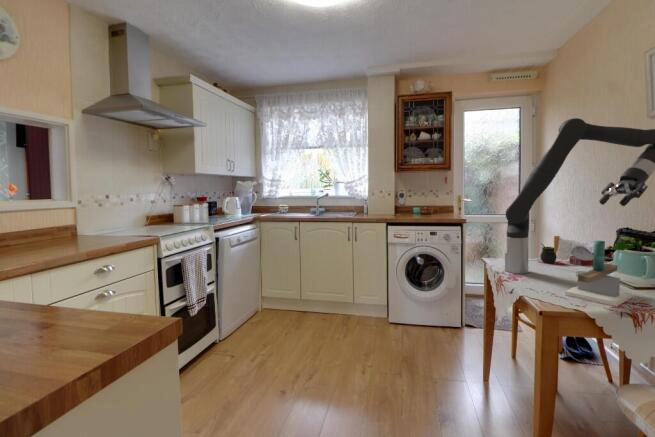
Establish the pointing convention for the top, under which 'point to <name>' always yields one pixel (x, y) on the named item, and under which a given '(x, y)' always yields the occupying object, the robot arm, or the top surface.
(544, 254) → the mate gourd
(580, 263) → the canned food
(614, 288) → the ridge stand
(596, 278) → the teal peg on base
